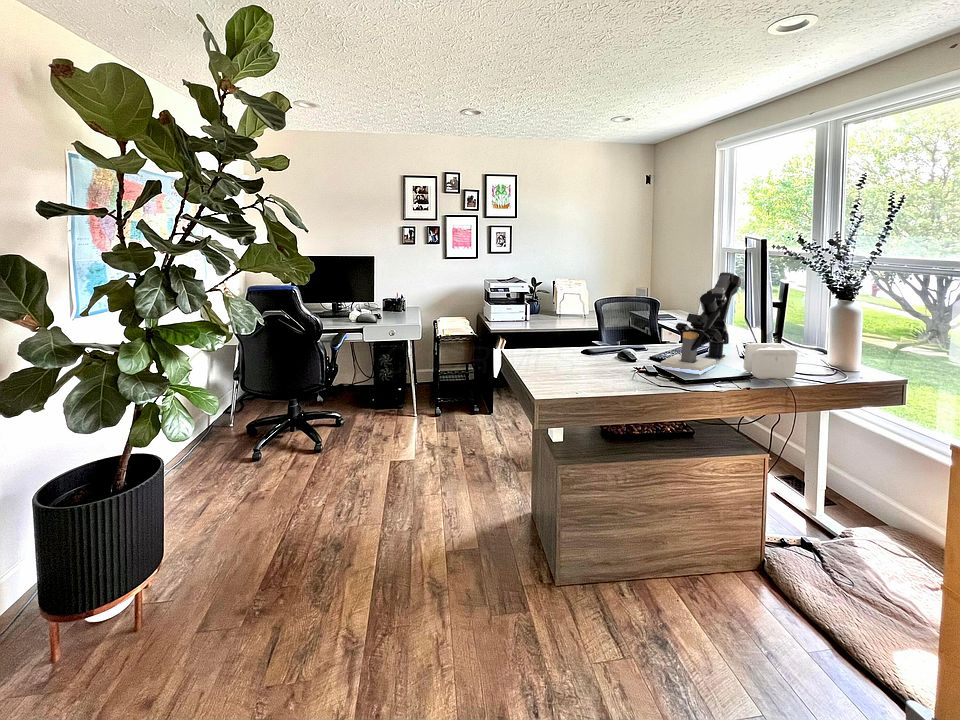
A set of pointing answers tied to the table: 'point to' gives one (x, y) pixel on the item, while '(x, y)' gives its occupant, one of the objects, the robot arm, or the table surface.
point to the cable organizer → (770, 360)
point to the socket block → (698, 365)
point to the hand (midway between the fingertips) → (687, 349)
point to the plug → (689, 347)
